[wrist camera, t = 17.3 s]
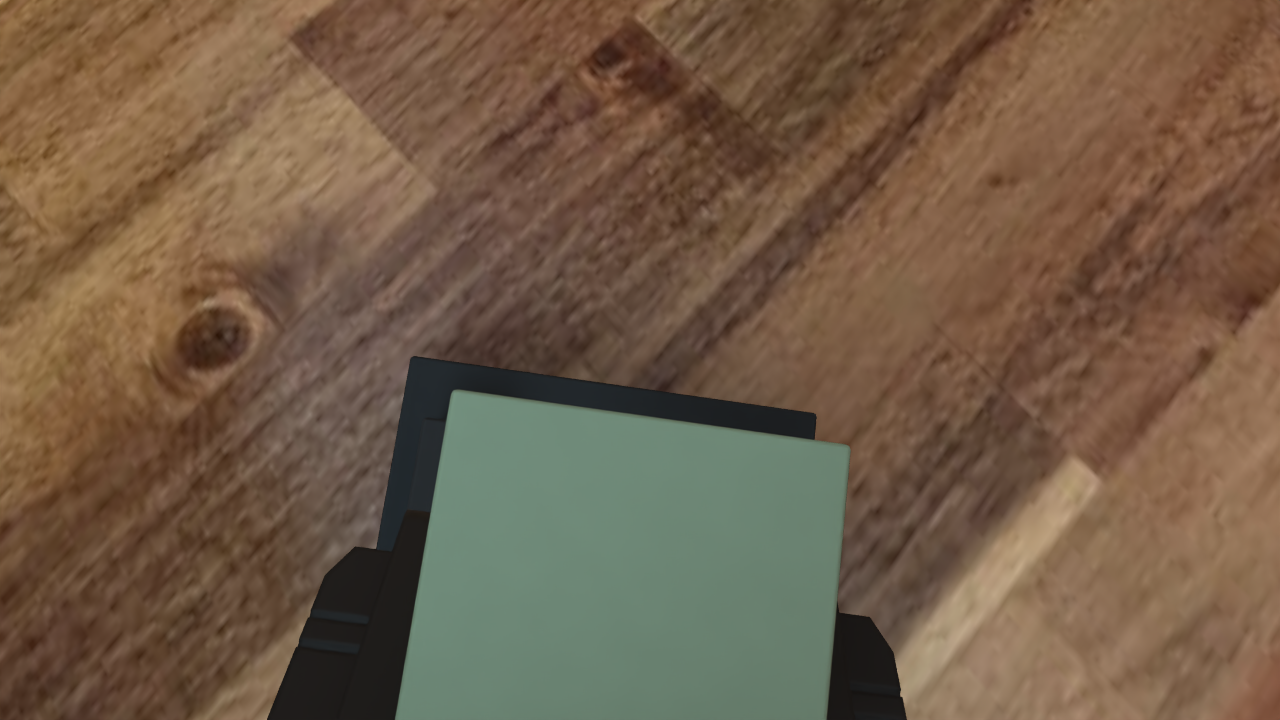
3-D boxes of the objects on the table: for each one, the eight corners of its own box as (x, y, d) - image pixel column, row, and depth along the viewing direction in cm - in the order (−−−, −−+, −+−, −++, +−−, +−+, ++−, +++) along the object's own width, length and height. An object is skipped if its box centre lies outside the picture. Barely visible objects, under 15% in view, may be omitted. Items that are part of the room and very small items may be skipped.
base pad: (738, 1026, 24) (768, 1098, 20) (314, 976, 23) (272, 1040, 20) (798, 426, 26) (834, 401, 23) (421, 373, 26) (400, 338, 23)
